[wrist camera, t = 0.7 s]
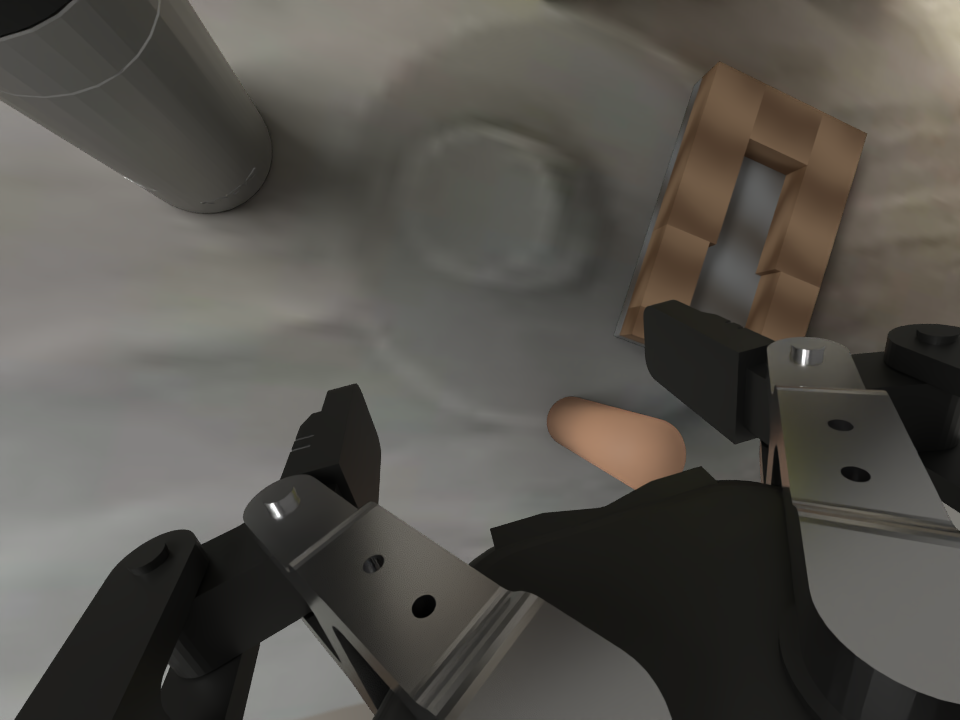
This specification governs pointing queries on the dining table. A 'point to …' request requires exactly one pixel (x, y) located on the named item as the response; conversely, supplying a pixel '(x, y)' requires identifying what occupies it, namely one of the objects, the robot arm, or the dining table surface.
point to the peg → (618, 440)
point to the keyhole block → (745, 209)
